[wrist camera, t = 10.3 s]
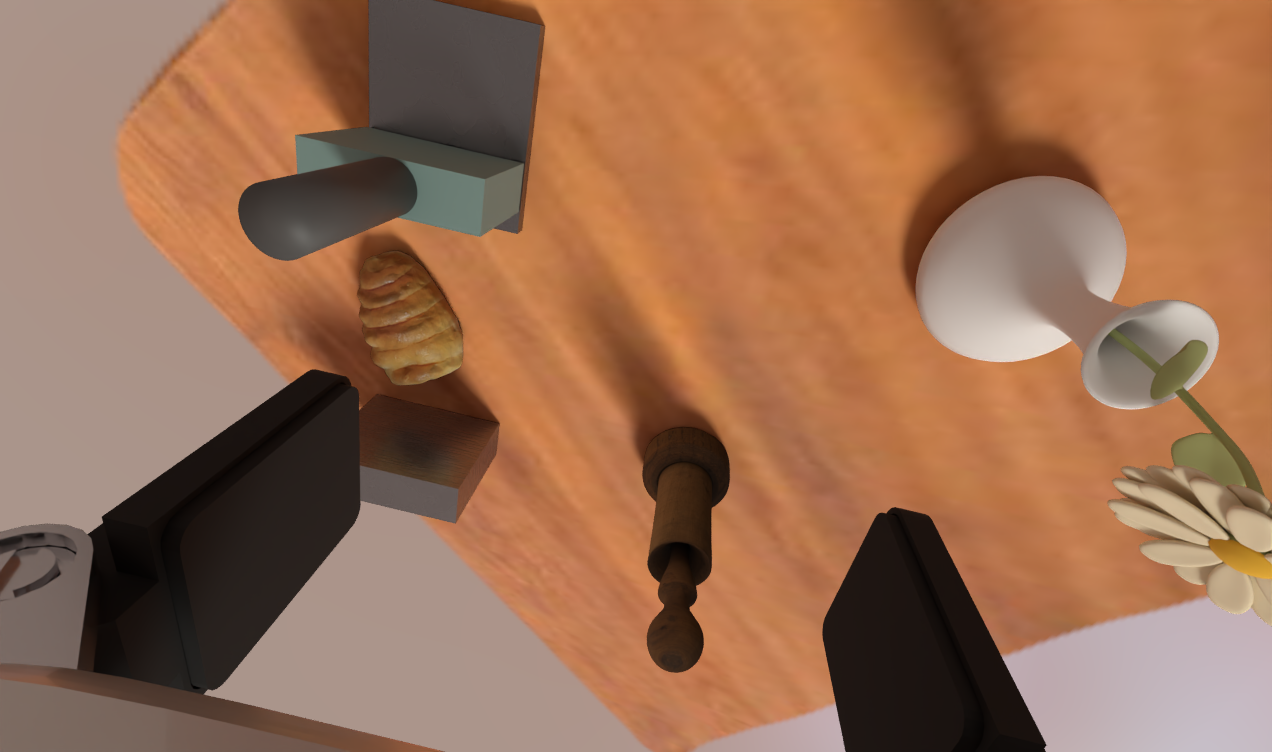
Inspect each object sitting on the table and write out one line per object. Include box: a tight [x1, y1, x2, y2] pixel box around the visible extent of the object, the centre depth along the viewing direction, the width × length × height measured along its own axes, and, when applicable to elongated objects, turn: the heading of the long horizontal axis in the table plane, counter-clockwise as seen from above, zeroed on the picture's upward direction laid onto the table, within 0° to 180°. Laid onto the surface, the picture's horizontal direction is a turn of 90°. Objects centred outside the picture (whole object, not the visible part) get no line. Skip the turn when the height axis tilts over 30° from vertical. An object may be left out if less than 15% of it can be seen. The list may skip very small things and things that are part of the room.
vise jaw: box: [238, 127, 524, 261], centre depth 30 cm, size 3×10×16 cm, turn 78°
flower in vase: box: [915, 176, 1272, 626], centre depth 26 cm, size 13×11×25 cm
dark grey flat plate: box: [369, 0, 545, 234], centre depth 36 cm, size 12×10×1 cm
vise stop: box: [359, 394, 500, 523], centre depth 43 cm, size 3×10×8 cm, turn 78°
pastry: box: [357, 251, 463, 385], centre depth 42 cm, size 9×7×4 cm
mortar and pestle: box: [642, 428, 730, 673], centre depth 38 cm, size 7×6×18 cm
